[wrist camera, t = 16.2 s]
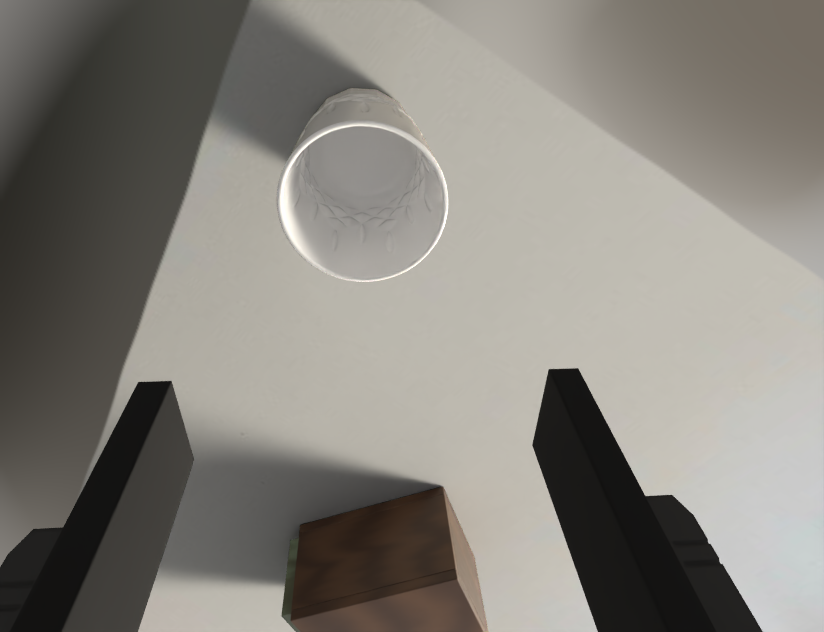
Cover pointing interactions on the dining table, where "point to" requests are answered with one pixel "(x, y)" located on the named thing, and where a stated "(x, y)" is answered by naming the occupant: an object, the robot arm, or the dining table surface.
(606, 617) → the robot arm
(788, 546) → the dining table surface
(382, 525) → the cabinet
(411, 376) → the dining table surface
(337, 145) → the white cup
